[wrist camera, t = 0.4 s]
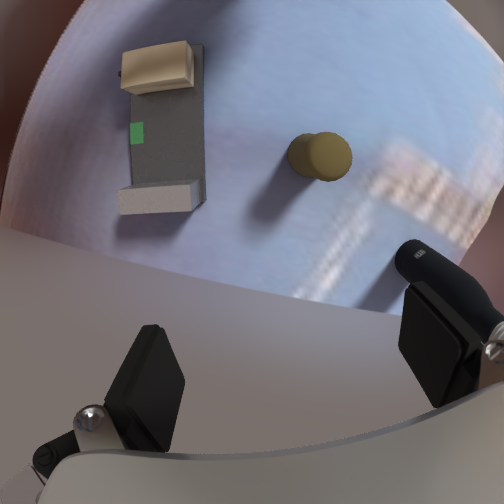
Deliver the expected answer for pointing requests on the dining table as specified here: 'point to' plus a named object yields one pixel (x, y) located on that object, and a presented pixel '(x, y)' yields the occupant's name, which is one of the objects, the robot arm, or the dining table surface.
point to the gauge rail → (167, 148)
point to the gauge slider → (158, 68)
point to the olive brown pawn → (320, 156)
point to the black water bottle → (451, 287)
